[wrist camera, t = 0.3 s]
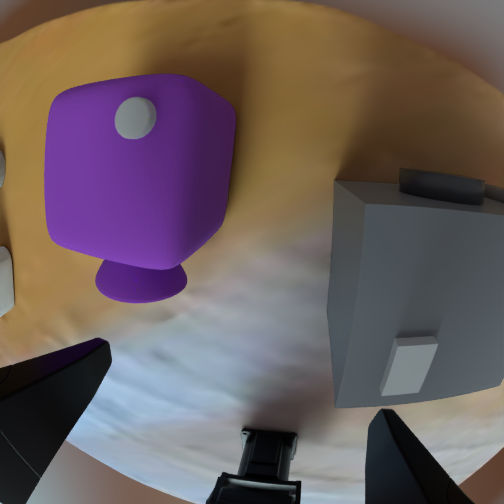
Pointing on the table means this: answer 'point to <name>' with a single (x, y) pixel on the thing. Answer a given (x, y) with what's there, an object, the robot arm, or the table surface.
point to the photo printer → (6, 281)
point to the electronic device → (2, 169)
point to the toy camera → (138, 178)
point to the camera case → (415, 290)
